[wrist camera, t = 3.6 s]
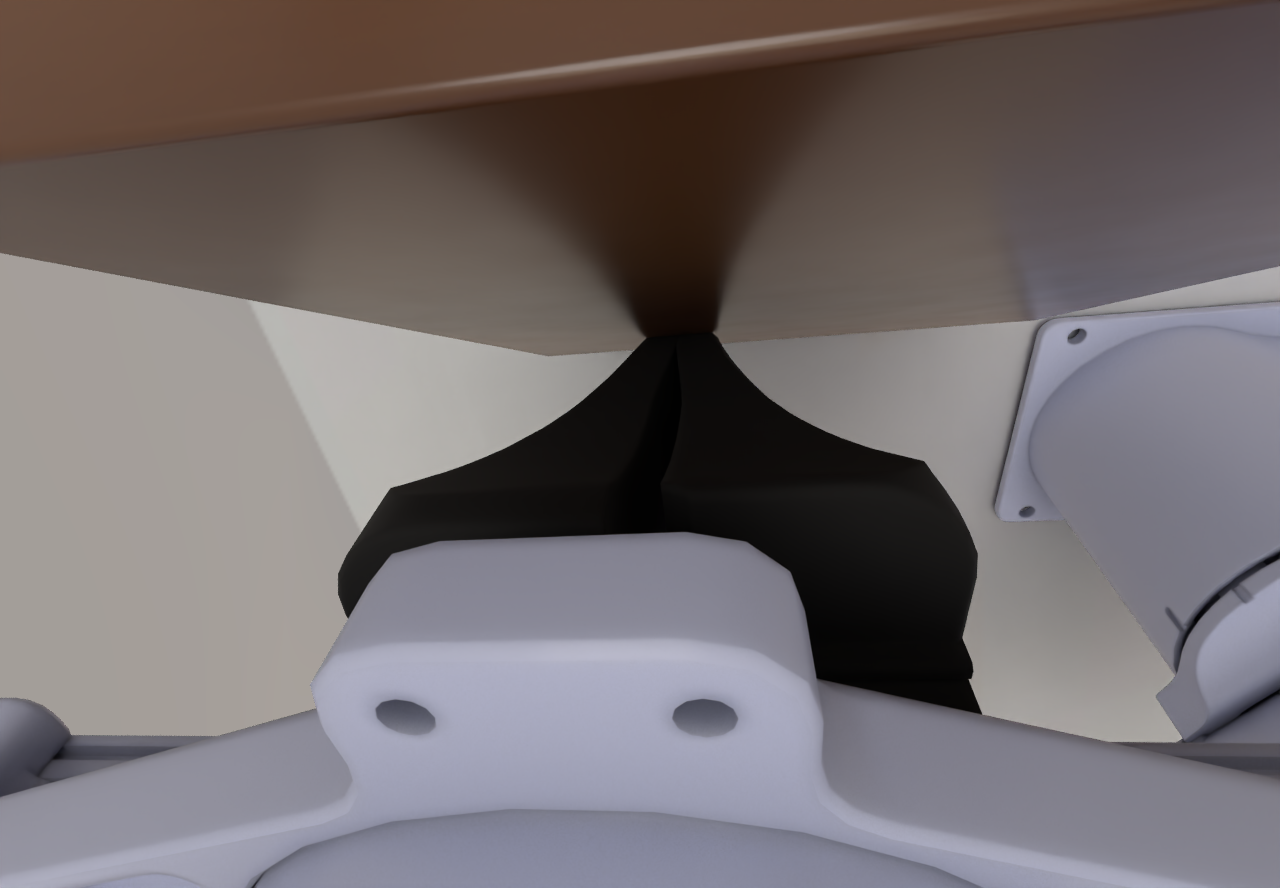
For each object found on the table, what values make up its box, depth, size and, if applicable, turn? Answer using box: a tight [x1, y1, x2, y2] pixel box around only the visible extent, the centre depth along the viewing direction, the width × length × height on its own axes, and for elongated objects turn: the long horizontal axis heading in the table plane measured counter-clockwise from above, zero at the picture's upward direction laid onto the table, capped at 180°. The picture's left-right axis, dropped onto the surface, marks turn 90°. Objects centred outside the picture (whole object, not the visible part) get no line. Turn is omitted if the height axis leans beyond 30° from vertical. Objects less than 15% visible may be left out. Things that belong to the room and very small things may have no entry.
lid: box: [0, 0, 1280, 356], centre depth 8 cm, size 12×11×1 cm
